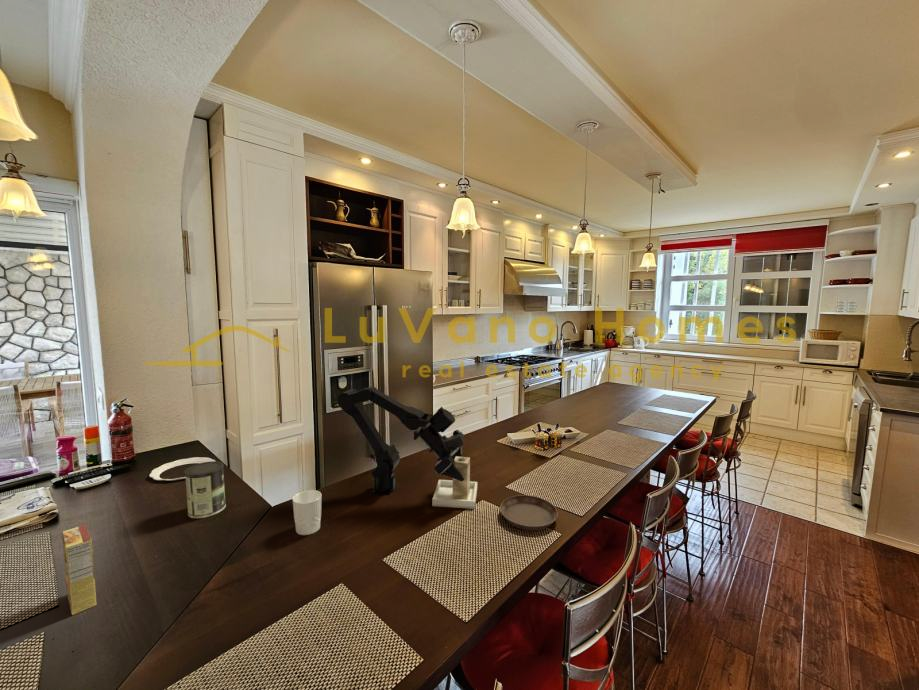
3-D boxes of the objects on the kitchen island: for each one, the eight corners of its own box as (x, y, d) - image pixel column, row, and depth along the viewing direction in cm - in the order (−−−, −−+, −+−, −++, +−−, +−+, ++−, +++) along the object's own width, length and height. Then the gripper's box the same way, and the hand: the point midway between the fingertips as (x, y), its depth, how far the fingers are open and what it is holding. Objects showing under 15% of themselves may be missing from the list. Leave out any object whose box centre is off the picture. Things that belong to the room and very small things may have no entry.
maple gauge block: (452, 499, 131) (452, 461, 129) (455, 492, 135) (455, 456, 134) (467, 500, 130) (467, 463, 128) (469, 493, 134) (470, 457, 133)
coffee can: (220, 498, 131) (217, 458, 129) (230, 509, 124) (227, 467, 122) (183, 510, 123) (180, 467, 122) (192, 522, 116) (189, 477, 115)
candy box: (66, 595, 87) (60, 531, 85) (92, 585, 90) (86, 523, 88) (71, 616, 81) (64, 548, 80) (98, 604, 84) (92, 538, 83)
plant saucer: (558, 538, 110) (559, 528, 110) (497, 530, 114) (497, 521, 114) (556, 507, 128) (556, 498, 127) (502, 501, 131) (502, 492, 131)
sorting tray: (432, 506, 127) (432, 498, 127) (438, 486, 141) (438, 479, 141) (474, 508, 126) (474, 501, 125) (477, 488, 139) (477, 481, 139)
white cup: (328, 524, 116) (327, 492, 115) (310, 539, 109) (308, 505, 108) (306, 519, 119) (305, 488, 118) (287, 533, 111) (286, 500, 110)
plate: (225, 468, 155) (225, 464, 155) (164, 489, 137) (163, 484, 137) (200, 457, 166) (200, 453, 166) (140, 474, 148) (140, 470, 148)
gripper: (444, 434, 121) (478, 471, 121) (456, 417, 140) (486, 449, 139) (420, 456, 124) (453, 492, 123) (435, 437, 142) (464, 468, 141)
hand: (465, 474), depth 131 cm, fingers open, 9 cm apart
